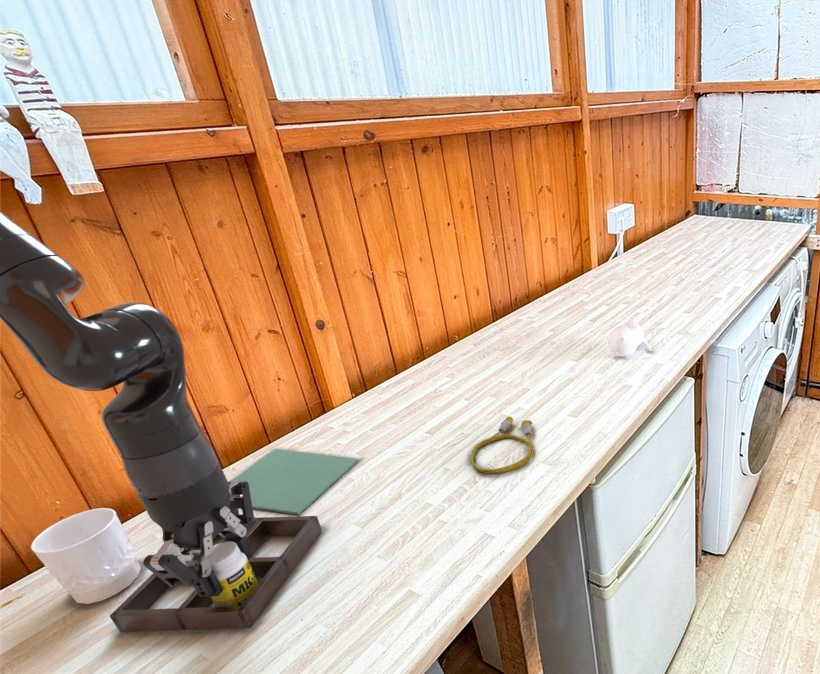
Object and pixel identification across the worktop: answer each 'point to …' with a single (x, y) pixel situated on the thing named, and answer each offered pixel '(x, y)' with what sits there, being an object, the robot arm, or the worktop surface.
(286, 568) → the brown compartment tray
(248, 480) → the drying mat
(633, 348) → the cat figurine
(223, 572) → the supplement bottle
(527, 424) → the extension cord
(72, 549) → the white cup
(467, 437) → the worktop surface
